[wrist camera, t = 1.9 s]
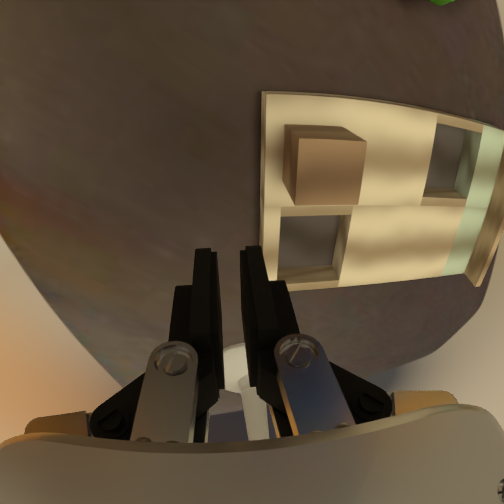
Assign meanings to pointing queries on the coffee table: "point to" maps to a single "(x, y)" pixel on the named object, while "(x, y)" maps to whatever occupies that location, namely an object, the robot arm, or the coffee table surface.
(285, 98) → the board
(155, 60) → the coffee table surface
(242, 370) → the candlestick
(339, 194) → the walnut block
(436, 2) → the snack cup
